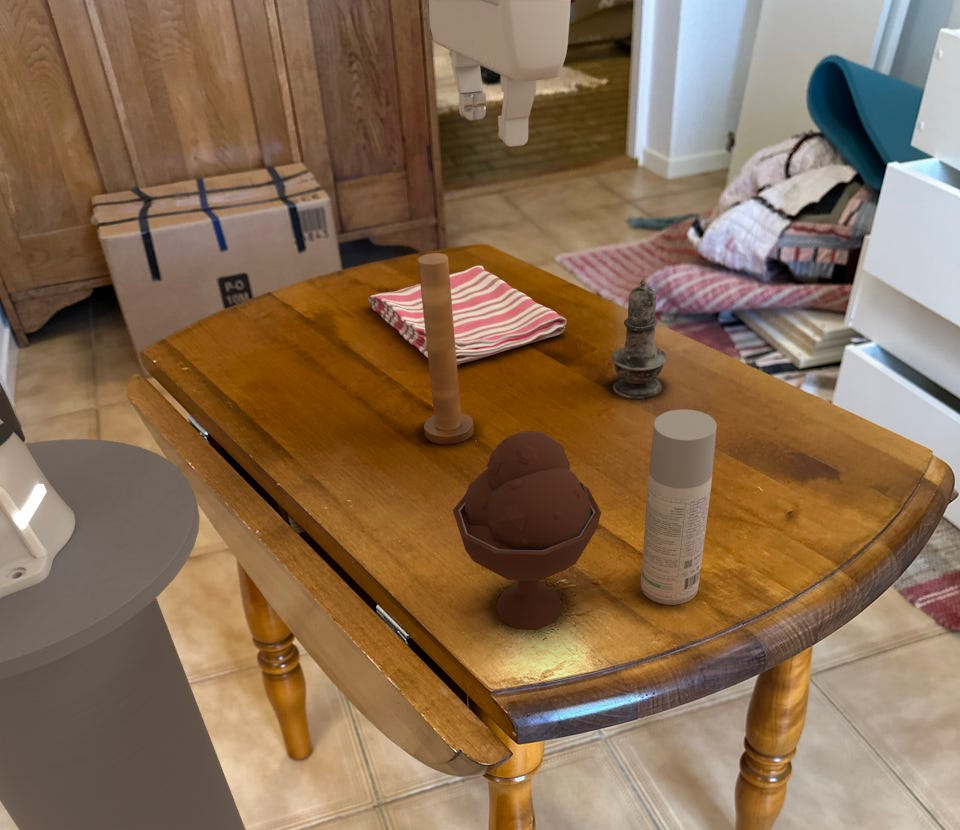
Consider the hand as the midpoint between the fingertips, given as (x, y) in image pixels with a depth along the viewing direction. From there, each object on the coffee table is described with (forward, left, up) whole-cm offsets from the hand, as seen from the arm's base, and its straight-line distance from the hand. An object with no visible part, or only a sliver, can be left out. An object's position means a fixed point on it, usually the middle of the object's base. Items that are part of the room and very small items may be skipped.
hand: (492, 130), depth 70 cm
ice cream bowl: (-13, -15, -31) cm, 37 cm away
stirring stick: (+2, +11, -30) cm, 32 cm away
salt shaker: (+22, +2, -31) cm, 38 cm away
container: (-4, -22, -31) cm, 38 cm away
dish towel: (+22, +29, -31) cm, 48 cm away
